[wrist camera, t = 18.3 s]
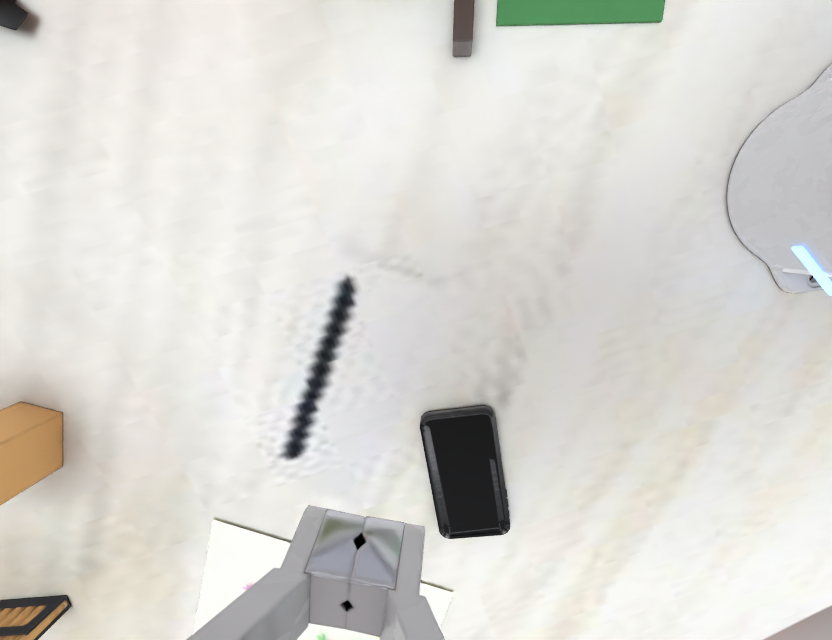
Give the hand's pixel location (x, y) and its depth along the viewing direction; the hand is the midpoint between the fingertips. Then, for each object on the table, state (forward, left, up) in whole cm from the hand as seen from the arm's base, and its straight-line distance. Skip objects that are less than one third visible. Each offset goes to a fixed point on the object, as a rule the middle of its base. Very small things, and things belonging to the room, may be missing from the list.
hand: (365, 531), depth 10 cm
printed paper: (+15, +46, -30) cm, 56 cm away
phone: (-4, +19, -30) cm, 35 cm away
